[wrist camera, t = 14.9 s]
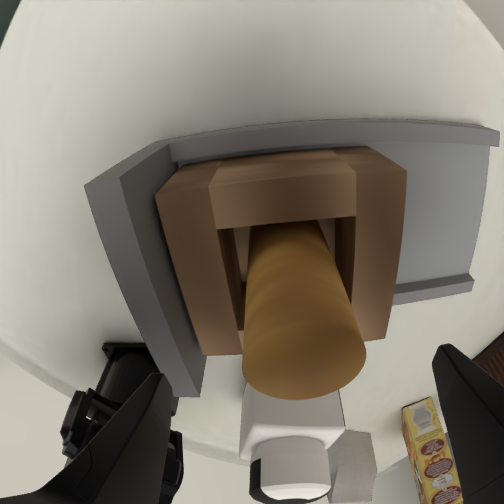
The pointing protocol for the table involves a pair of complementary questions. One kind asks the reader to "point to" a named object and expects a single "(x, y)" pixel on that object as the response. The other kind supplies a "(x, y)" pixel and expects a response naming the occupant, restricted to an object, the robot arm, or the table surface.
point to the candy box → (430, 455)
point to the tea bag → (351, 468)
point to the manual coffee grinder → (493, 359)
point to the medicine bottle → (289, 445)
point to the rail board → (284, 139)
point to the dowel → (297, 315)
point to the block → (278, 211)
